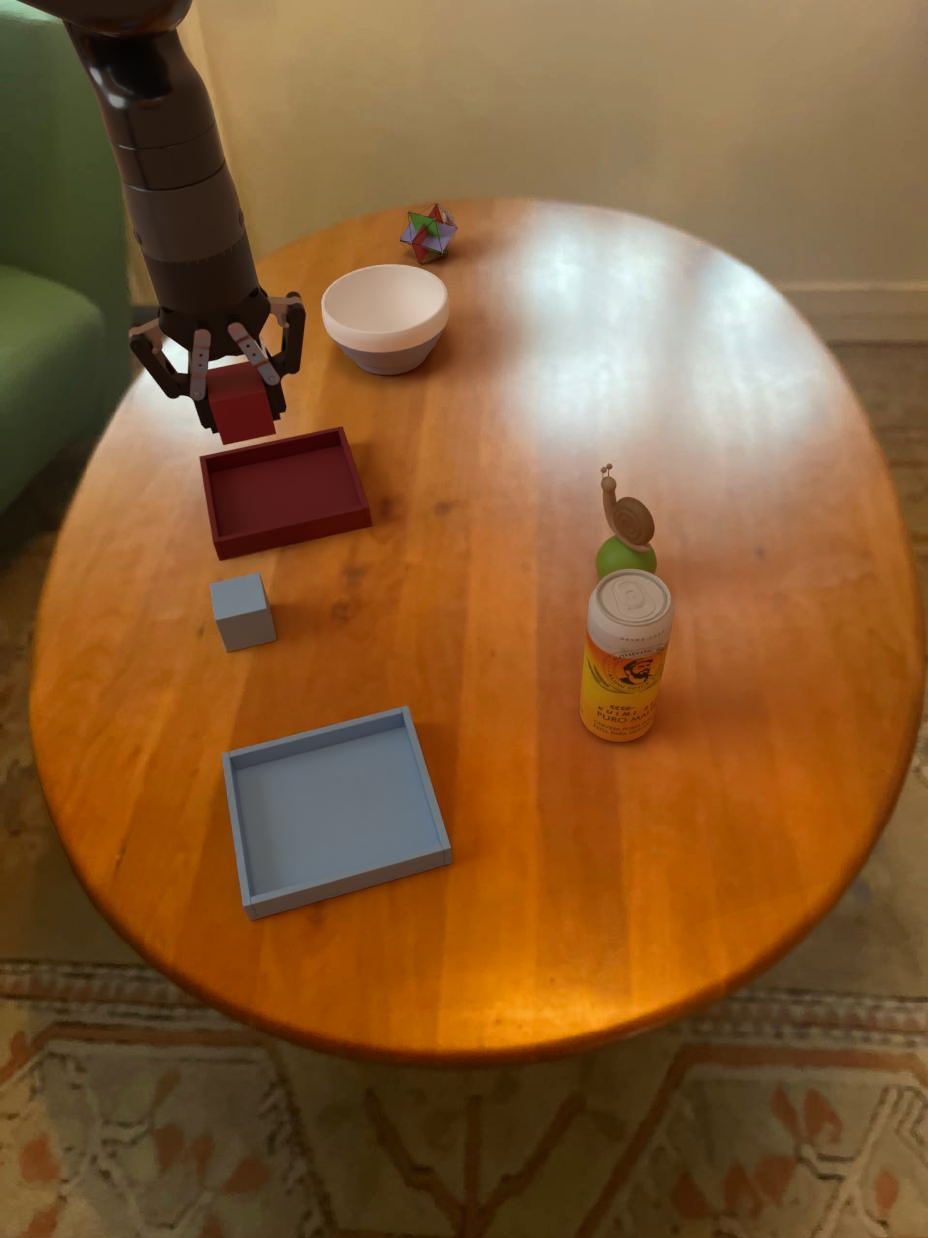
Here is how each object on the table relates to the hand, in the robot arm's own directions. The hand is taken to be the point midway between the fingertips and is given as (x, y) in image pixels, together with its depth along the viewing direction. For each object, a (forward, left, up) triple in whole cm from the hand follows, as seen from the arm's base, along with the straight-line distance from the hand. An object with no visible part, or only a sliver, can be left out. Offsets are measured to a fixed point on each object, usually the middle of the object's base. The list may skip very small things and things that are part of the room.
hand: (245, 420), depth 81 cm
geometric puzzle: (+28, +48, -16) cm, 58 cm away
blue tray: (0, -30, -16) cm, 34 cm away
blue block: (-4, -9, -16) cm, 19 cm away
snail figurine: (+30, -14, -16) cm, 37 cm away
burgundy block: (0, 0, 0) cm, 0 cm away
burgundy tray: (+2, +7, -16) cm, 17 cm away
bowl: (+18, +28, -16) cm, 37 cm away
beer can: (+24, -28, -16) cm, 40 cm away
